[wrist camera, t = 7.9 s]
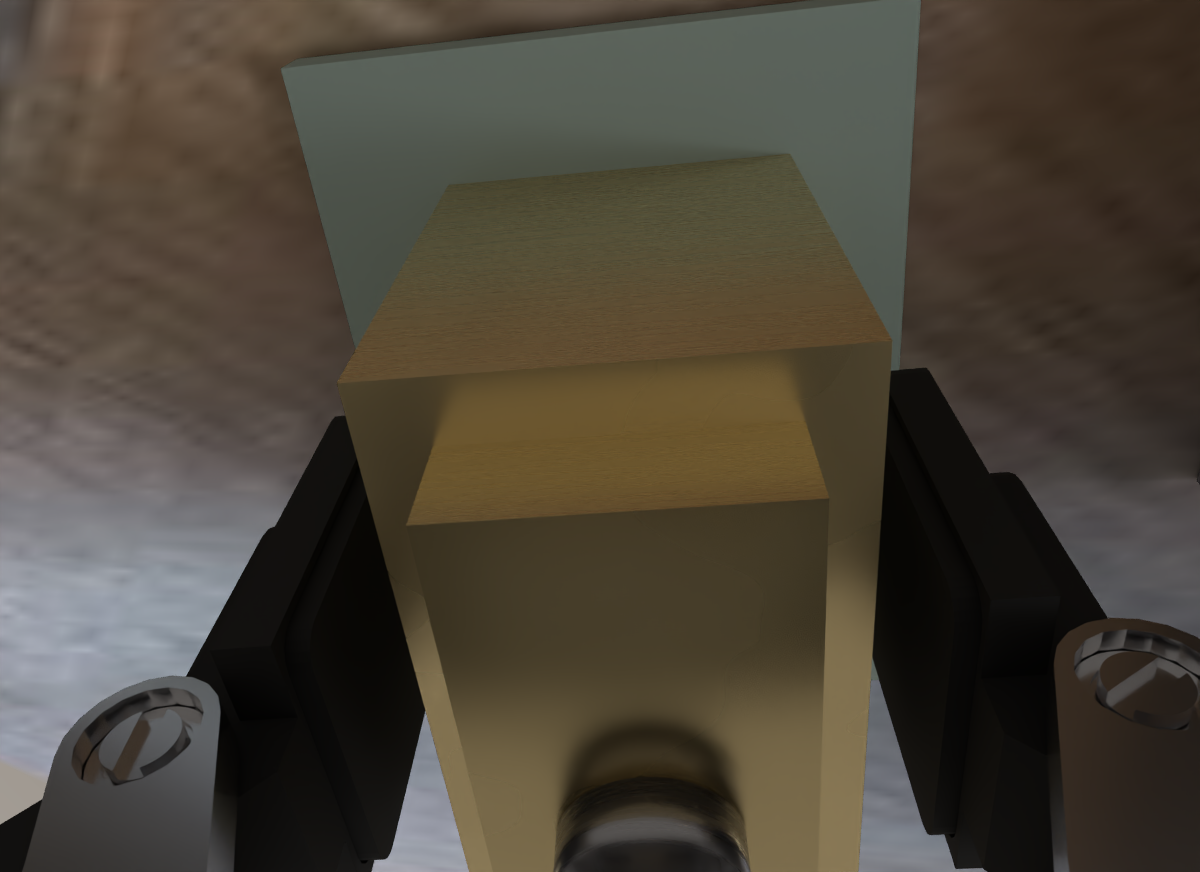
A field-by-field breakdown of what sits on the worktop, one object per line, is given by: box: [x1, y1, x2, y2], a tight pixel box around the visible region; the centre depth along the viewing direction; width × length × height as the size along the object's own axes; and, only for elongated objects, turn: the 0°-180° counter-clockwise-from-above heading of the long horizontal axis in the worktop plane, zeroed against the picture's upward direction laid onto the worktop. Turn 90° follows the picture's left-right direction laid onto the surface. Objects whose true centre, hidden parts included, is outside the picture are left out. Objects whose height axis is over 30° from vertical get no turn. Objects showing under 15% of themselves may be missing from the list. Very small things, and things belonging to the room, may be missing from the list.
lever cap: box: [337, 154, 893, 872], centre depth 10 cm, size 4×6×7 cm, turn 6°
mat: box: [281, 0, 921, 680], centre depth 13 cm, size 7×10×1 cm
